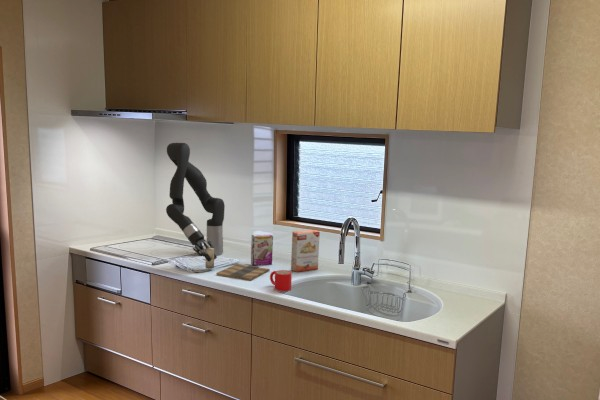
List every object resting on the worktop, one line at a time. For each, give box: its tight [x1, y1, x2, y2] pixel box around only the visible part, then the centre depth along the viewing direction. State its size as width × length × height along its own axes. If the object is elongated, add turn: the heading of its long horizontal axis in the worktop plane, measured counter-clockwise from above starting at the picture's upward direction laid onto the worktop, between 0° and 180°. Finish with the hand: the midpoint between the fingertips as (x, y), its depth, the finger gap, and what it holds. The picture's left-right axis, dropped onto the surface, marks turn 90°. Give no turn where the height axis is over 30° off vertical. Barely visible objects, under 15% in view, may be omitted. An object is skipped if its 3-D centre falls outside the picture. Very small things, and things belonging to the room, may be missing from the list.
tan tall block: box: [205, 248, 215, 270], centre depth 278 cm, size 4×4×10 cm
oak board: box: [216, 263, 270, 282], centre depth 275 cm, size 20×20×1 cm
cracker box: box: [290, 229, 321, 273], centre depth 284 cm, size 14×6×21 cm, turn 121°
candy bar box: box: [250, 233, 274, 266], centre depth 292 cm, size 11×5×16 cm, turn 110°
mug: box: [269, 269, 293, 292], centre depth 252 cm, size 8×12×8 cm, turn 54°
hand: (212, 259), depth 277 cm, fingers closed on tan tall block, 4 cm apart
